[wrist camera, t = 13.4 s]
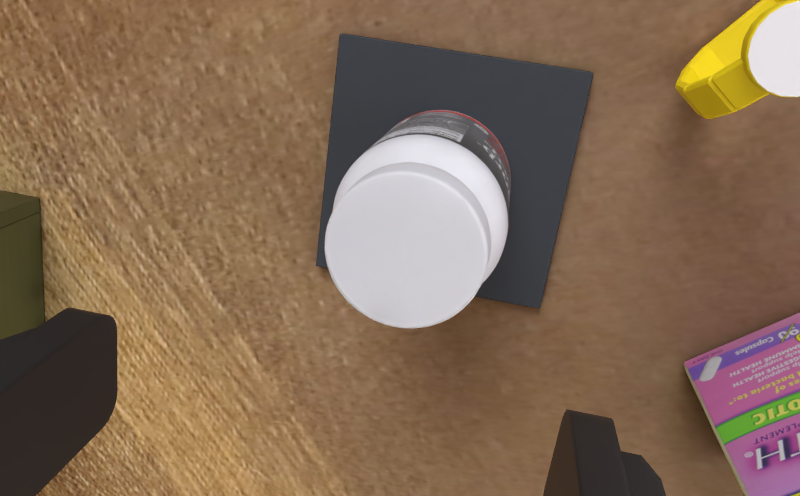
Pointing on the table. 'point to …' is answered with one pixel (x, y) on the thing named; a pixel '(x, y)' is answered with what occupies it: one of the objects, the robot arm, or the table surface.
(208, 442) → the table surface
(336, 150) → the coaster
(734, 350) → the box
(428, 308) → the pill bottle
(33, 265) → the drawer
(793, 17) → the watch
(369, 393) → the table surface
